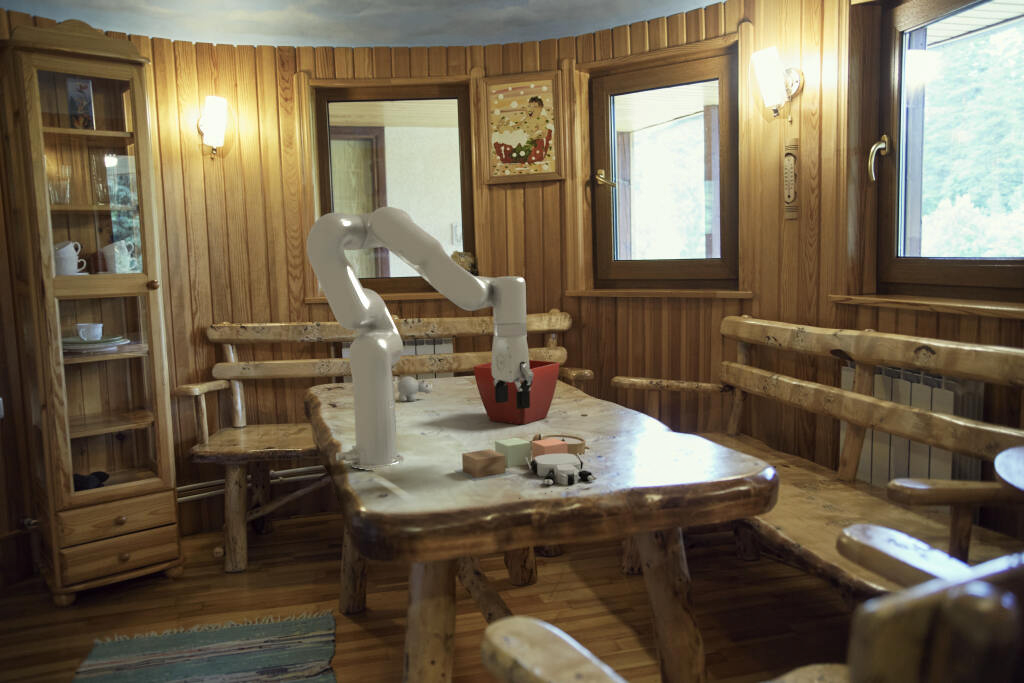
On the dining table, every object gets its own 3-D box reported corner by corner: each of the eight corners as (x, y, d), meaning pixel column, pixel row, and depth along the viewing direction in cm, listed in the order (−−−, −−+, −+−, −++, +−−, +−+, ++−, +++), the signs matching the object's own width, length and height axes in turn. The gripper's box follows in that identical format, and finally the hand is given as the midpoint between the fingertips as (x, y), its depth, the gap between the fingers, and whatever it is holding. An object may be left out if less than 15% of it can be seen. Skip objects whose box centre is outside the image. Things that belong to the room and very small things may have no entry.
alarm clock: (594, 444, 191) (536, 438, 187) (590, 464, 191) (533, 458, 187) (577, 434, 202) (521, 429, 197) (574, 453, 202) (519, 448, 198)
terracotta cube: (545, 472, 177) (544, 446, 176) (531, 466, 182) (531, 441, 181) (567, 468, 180) (567, 443, 179) (554, 463, 185) (553, 438, 184)
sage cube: (508, 472, 178) (507, 446, 177) (495, 466, 183) (495, 441, 183) (531, 468, 181) (530, 442, 180) (517, 462, 186) (517, 437, 186)
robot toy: (599, 491, 164) (576, 468, 179) (600, 471, 164) (577, 449, 178) (543, 497, 161) (524, 473, 176) (543, 476, 161) (524, 453, 175)
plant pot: (524, 428, 223) (523, 369, 221) (473, 421, 235) (471, 365, 233) (562, 417, 238) (561, 362, 236) (511, 411, 250) (510, 358, 248)
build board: (474, 485, 168) (474, 480, 168) (453, 475, 176) (453, 470, 176) (514, 478, 173) (514, 473, 172) (493, 468, 181) (492, 464, 181)
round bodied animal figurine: (433, 401, 271) (432, 376, 270) (398, 403, 269) (397, 378, 268) (431, 397, 278) (431, 374, 277) (397, 399, 276) (396, 375, 275)
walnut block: (477, 478, 170) (476, 459, 169) (462, 471, 176) (462, 453, 175) (505, 473, 173) (505, 455, 173) (490, 466, 179) (489, 449, 179)
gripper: (477, 329, 185) (480, 401, 186) (515, 334, 170) (517, 412, 172) (505, 327, 188) (507, 398, 190) (544, 332, 174) (546, 408, 175)
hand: (512, 405), depth 181 cm, fingers open, 9 cm apart
